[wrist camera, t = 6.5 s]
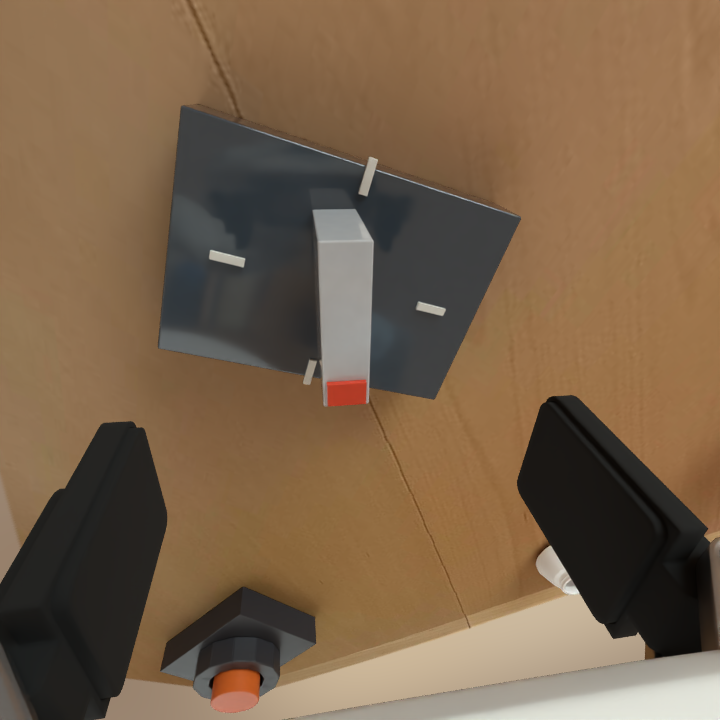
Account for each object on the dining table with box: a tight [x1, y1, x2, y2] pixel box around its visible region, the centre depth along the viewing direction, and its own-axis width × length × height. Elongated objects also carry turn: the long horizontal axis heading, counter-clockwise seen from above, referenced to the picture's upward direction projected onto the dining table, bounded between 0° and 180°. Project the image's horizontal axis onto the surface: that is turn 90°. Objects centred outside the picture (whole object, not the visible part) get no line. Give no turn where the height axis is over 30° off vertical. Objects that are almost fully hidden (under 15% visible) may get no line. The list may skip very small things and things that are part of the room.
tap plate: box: [158, 104, 521, 399], centre depth 20 cm, size 14×11×3 cm
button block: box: [160, 587, 316, 699], centre depth 36 cm, size 8×10×4 cm
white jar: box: [536, 545, 580, 595], centre depth 37 cm, size 5×3×5 cm
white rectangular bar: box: [312, 209, 374, 406], centre depth 17 cm, size 6×2×5 cm, turn 179°
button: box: [211, 669, 260, 713], centre depth 34 cm, size 4×4×2 cm
